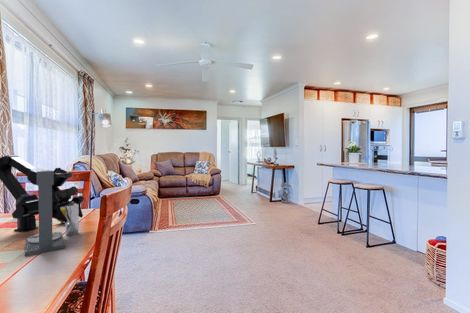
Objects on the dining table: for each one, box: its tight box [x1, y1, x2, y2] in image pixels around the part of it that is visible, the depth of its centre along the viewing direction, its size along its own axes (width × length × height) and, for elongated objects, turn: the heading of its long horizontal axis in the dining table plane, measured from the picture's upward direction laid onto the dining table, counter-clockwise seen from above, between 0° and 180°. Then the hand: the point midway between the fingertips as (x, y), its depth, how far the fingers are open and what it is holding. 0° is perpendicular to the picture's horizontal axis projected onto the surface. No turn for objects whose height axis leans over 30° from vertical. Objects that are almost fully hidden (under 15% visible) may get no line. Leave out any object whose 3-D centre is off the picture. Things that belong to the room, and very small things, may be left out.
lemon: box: [56, 207, 65, 224], centre depth 130 cm, size 6×6×8 cm
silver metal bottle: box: [64, 200, 80, 237], centre depth 114 cm, size 5×5×14 cm
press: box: [24, 169, 73, 257], centre depth 101 cm, size 19×15×30 cm
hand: (74, 219), depth 114 cm, fingers open, 8 cm apart
